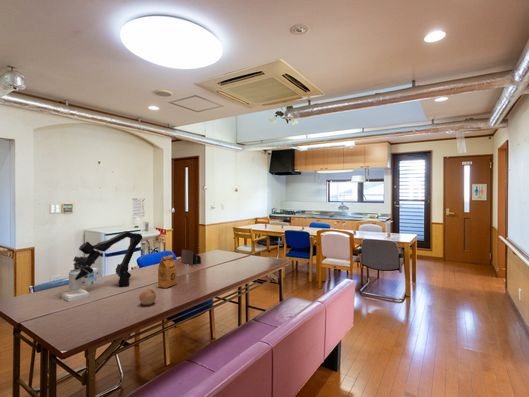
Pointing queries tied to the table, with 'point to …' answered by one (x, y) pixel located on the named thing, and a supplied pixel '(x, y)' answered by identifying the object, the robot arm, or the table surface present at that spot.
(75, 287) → the can
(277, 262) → the table surface
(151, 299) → the onion
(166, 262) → the coffee package
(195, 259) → the letter holder
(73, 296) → the stand
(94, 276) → the light bulb box
